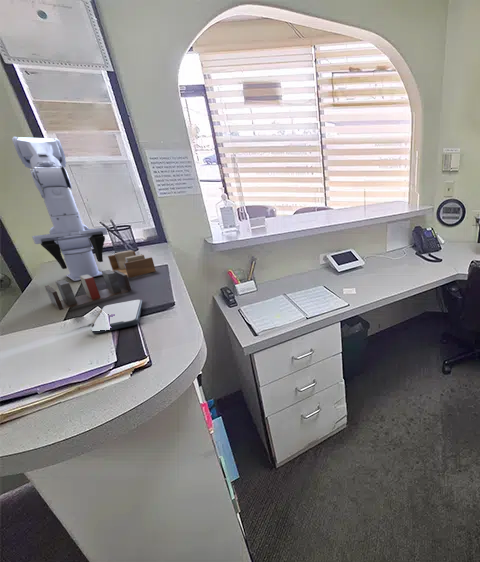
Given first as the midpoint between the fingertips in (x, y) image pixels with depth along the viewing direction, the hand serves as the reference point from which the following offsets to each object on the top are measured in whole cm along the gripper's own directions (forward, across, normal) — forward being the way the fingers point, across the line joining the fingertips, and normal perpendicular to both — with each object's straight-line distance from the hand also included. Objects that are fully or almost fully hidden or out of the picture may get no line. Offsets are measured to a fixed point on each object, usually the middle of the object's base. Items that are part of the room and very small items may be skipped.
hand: (83, 264), depth 85 cm
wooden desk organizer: (+9, +16, +18) cm, 26 cm away
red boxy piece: (+9, 0, 0) cm, 9 cm away
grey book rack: (+10, 0, +1) cm, 10 cm away
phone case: (+12, 0, -19) cm, 23 cm away
